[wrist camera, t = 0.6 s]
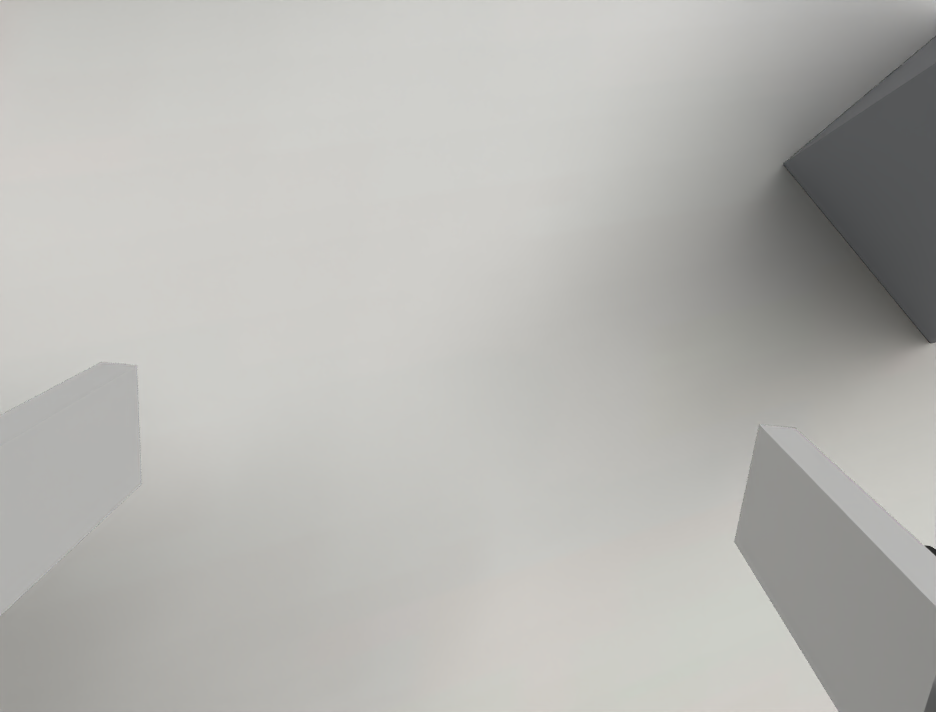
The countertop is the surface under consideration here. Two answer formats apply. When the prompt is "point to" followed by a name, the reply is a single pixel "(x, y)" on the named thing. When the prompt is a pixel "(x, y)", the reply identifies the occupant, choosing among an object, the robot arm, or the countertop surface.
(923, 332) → the block
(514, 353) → the countertop surface
